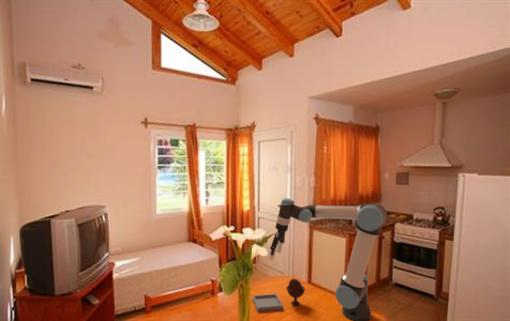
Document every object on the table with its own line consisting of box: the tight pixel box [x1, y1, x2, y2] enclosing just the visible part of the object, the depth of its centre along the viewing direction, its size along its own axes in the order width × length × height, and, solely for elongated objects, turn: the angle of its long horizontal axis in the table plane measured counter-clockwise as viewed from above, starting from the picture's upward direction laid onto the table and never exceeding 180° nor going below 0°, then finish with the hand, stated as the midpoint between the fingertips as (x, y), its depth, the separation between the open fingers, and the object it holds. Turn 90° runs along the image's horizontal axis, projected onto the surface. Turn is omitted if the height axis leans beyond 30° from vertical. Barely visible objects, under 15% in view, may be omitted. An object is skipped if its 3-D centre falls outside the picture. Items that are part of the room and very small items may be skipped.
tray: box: [252, 293, 284, 313], centre depth 163 cm, size 15×15×2 cm
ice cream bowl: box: [286, 278, 306, 307], centre depth 165 cm, size 11×11×15 cm
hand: (274, 255), depth 169 cm, fingers open, 13 cm apart
